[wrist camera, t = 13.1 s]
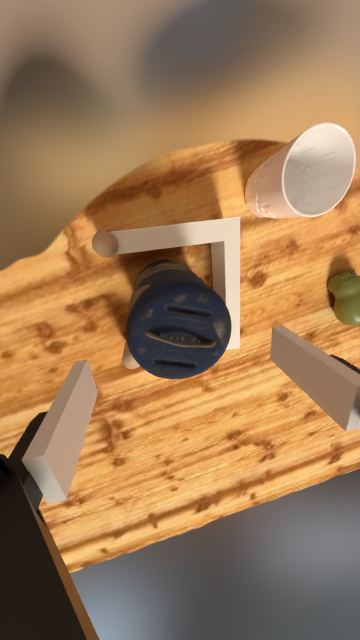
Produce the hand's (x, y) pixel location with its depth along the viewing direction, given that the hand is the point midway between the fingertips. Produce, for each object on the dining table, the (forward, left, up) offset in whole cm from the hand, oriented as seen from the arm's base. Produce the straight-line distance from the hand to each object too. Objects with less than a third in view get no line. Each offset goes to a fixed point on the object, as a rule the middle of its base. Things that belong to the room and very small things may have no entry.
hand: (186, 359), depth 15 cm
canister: (0, 0, -20) cm, 20 cm away
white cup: (+16, +12, -20) cm, 29 cm away
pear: (+31, -5, -20) cm, 38 cm away
